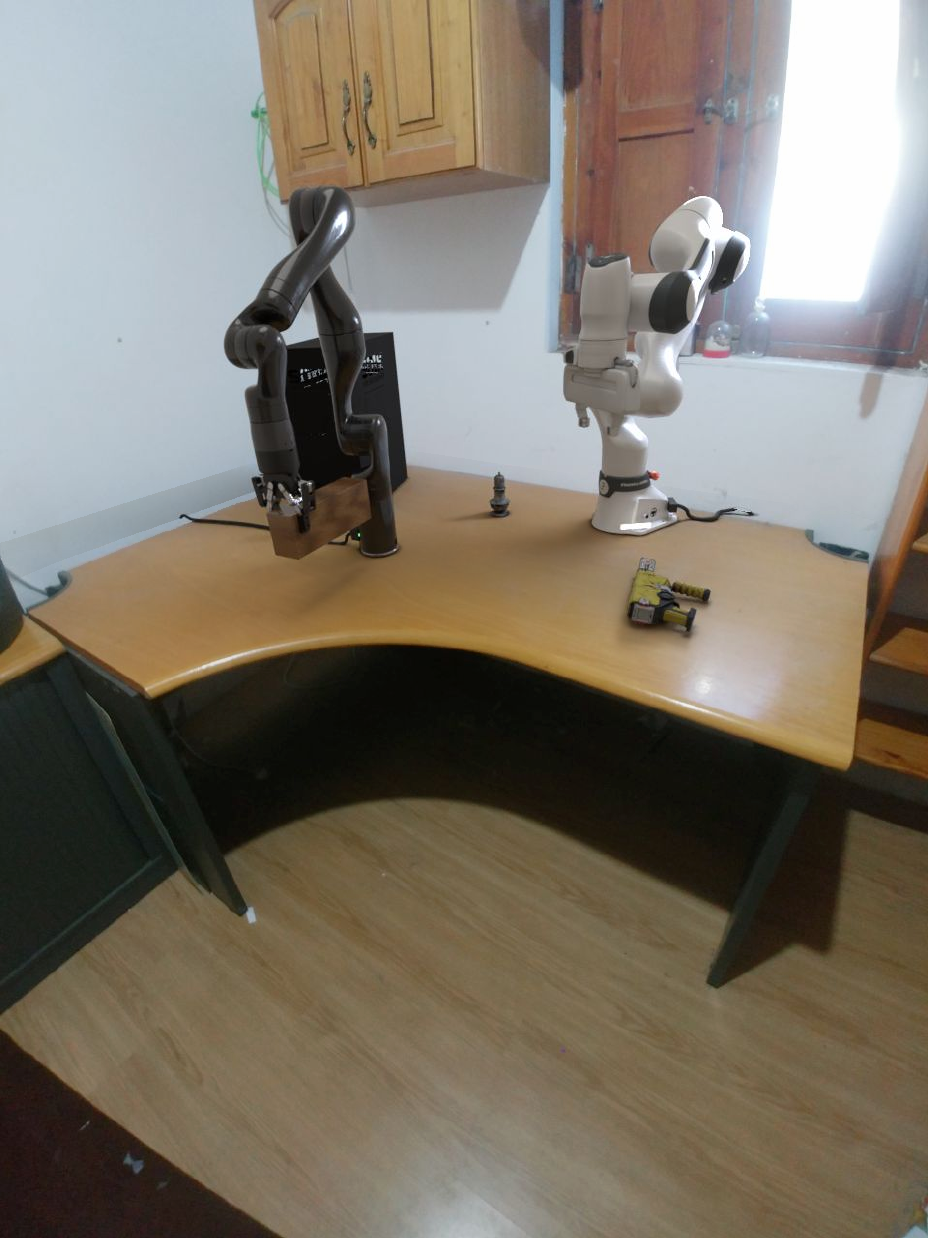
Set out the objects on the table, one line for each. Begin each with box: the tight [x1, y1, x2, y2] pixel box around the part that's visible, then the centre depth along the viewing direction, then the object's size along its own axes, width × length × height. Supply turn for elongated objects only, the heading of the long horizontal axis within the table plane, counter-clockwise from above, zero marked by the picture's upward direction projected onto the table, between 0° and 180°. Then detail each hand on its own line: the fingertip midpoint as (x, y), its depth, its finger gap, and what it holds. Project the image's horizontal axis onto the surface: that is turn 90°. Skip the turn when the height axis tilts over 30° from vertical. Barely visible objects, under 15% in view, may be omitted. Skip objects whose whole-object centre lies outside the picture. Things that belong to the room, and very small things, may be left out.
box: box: [265, 477, 371, 561], centre depth 127 cm, size 25×6×9 cm, turn 152°
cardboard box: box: [285, 331, 409, 494], centre depth 180 cm, size 38×20×45 cm, turn 167°
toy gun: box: [626, 557, 712, 633], centre depth 120 cm, size 5×24×15 cm
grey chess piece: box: [488, 471, 511, 517], centre depth 168 cm, size 6×6×12 cm
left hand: (292, 529), depth 119 cm, fingers closed on box, 6 cm apart
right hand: (597, 431), depth 119 cm, fingers open, 8 cm apart
